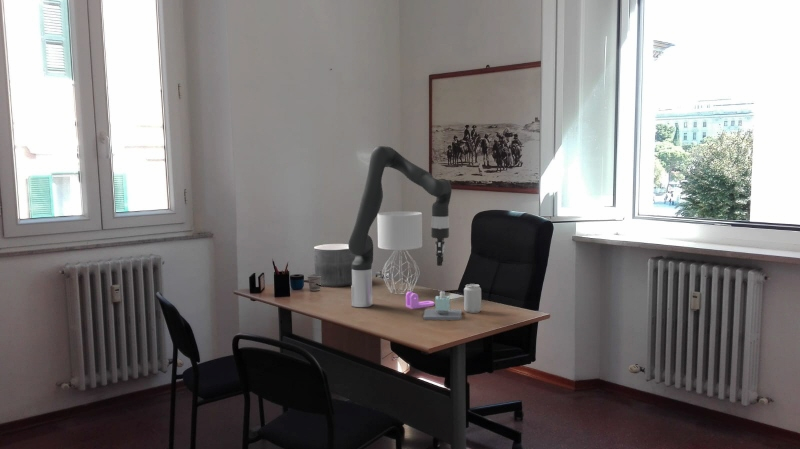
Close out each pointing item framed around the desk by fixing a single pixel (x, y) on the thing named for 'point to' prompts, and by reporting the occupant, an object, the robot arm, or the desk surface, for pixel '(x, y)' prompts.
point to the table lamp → (399, 238)
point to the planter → (334, 264)
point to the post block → (442, 313)
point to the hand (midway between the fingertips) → (440, 263)
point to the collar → (442, 303)
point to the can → (472, 298)
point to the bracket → (416, 301)
